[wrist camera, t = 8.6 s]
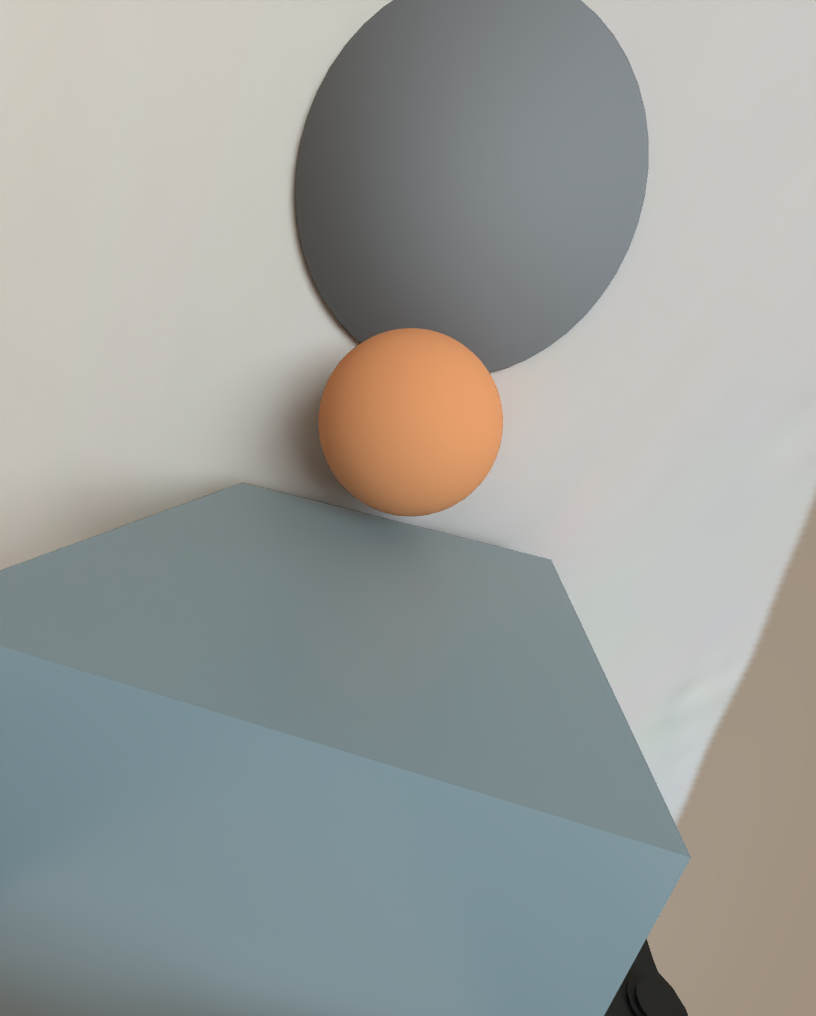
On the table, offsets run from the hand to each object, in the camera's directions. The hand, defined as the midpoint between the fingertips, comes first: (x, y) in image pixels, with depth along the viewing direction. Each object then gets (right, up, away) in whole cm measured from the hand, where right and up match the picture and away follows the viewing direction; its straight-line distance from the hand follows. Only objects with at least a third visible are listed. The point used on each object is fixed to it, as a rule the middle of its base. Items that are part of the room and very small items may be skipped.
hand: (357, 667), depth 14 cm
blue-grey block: (0, 0, +1) cm, 1 cm away
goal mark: (+3, +14, -2) cm, 15 cm away
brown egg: (+2, +8, -2) cm, 8 cm away
